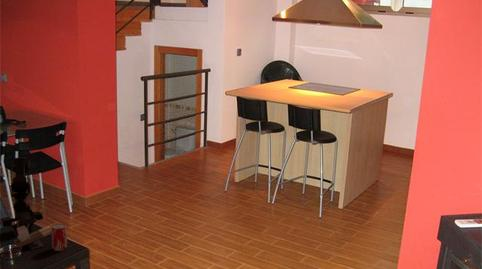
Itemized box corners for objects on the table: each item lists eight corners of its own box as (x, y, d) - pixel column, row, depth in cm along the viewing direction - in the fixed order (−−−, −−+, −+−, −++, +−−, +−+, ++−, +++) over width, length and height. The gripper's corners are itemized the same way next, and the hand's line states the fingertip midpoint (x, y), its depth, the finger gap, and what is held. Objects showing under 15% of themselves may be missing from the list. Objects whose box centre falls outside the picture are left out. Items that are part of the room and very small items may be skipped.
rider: (18, 239, 256) (15, 228, 254) (27, 235, 258) (24, 225, 256) (21, 242, 252) (17, 232, 250) (30, 238, 255) (27, 228, 253)
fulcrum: (26, 243, 261) (25, 237, 260) (38, 241, 264) (38, 234, 264) (31, 249, 255) (31, 242, 254) (43, 246, 258) (43, 240, 258)
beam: (14, 243, 256) (13, 240, 255) (49, 228, 266) (49, 225, 265) (18, 247, 251) (17, 245, 251) (54, 232, 261) (53, 229, 261)
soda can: (62, 252, 252) (61, 229, 250) (49, 251, 254) (48, 228, 251) (70, 246, 259) (69, 224, 257) (57, 245, 260) (56, 222, 258)
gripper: (5, 214, 239) (7, 245, 243) (46, 206, 251) (47, 236, 254) (-2, 206, 248) (0, 237, 251) (38, 199, 259) (39, 229, 263)
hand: (22, 235), depth 254 cm, fingers closed on rider, 5 cm apart
